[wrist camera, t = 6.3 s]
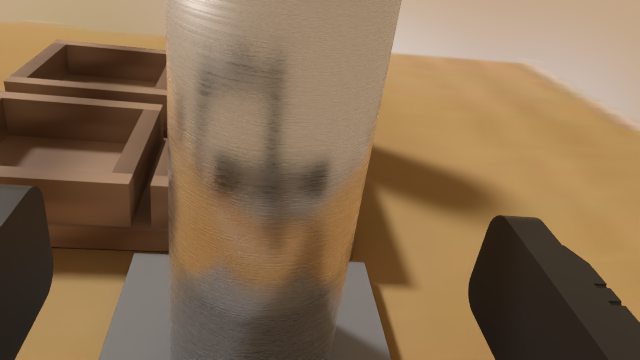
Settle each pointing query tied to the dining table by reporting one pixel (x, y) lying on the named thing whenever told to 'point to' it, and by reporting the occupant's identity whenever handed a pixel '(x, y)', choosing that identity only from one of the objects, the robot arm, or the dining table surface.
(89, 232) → the tray
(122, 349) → the rubber mat
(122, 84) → the tray
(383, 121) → the dining table surface
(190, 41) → the steel billet
